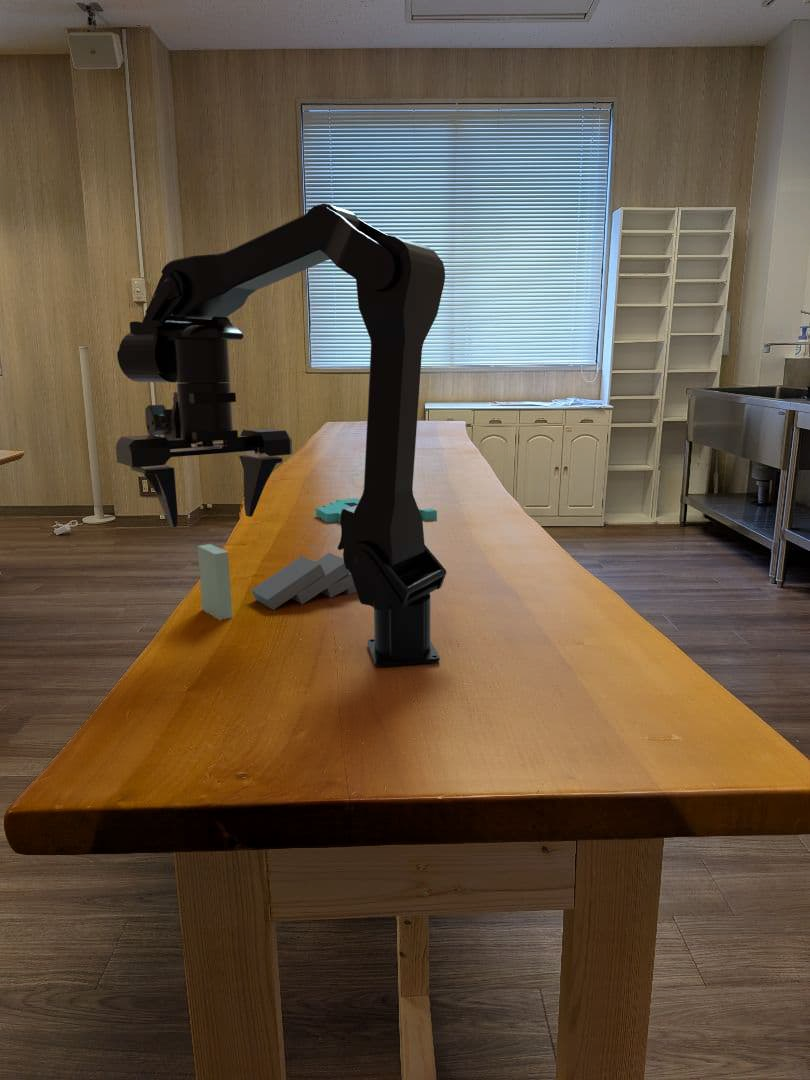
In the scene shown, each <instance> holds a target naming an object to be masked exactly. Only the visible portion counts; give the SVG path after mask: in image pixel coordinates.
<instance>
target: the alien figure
mask: <svg viewBox="0 0 810 1080" xmlns="http://www.w3.org/2000/svg"><path fill="white" fill-rule="evenodd" d="M359 501H360V499H359V498H358V497H355V498H354V497H353V498H342V499H336V501H331V502H329V504H323V505H322V507H316V508H315V517H316V516H318V517H320V518H321V519H323V520H324V521H323V520H322V521H323V522H325V521H326V522H325V523H327V522H331V523H340V524H341V521H340V517H341V511H342V510H343V509H345V508H349V507H352V506H355V505H358V503H359ZM418 509H419V511H420V514H421V516H422V520H423V521H426V522H427V521H435V520H436V519H437V520H438V511H437V510H436V509H433V508H426V509H421V508H418ZM318 517H317V518H318ZM320 518H319V519H320ZM321 519H320V520H321ZM437 520H436V521H437Z"/></svg>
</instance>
